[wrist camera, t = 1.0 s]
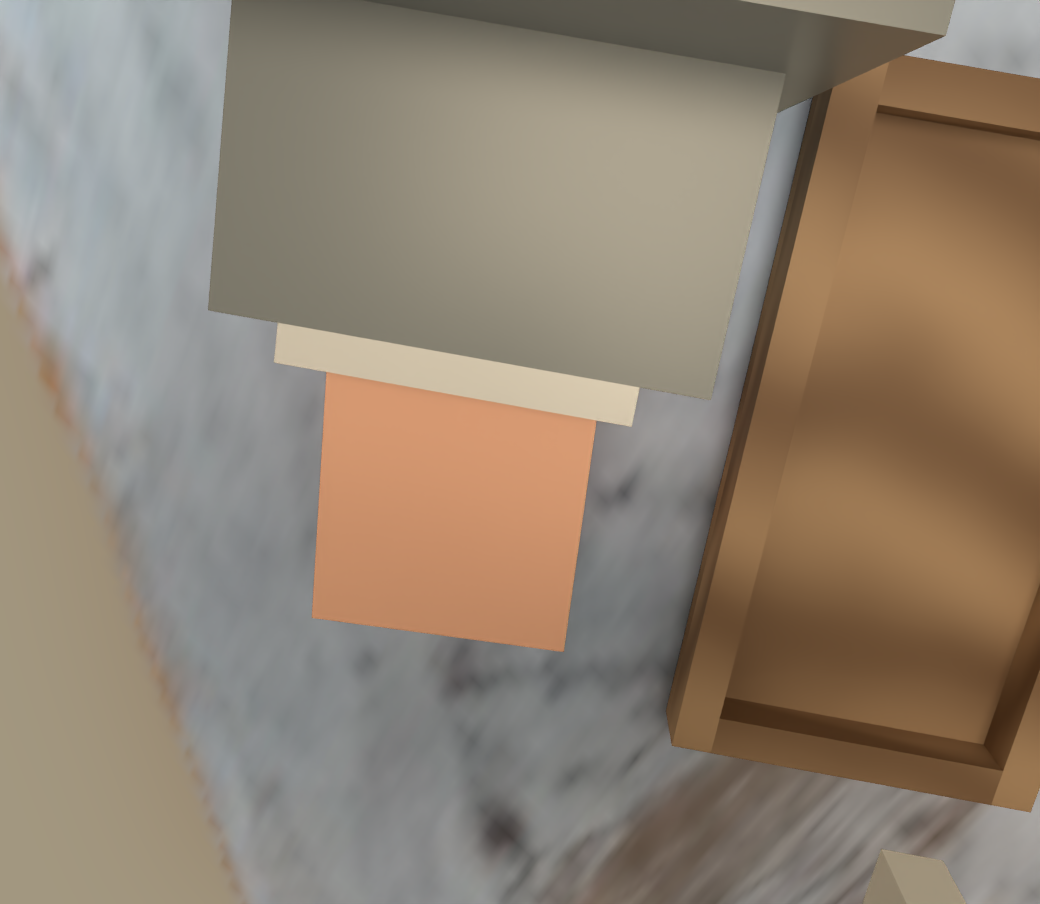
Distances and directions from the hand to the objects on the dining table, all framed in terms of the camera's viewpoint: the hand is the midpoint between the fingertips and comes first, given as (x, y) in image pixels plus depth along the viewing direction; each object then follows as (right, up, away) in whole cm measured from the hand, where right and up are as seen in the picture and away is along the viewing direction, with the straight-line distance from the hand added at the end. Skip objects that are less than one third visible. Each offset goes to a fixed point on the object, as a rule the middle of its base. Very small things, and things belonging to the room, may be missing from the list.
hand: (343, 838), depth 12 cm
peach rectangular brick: (+1, +8, +16) cm, 18 cm away
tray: (+14, +5, +16) cm, 22 cm away
